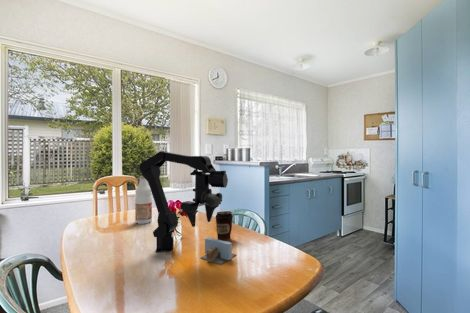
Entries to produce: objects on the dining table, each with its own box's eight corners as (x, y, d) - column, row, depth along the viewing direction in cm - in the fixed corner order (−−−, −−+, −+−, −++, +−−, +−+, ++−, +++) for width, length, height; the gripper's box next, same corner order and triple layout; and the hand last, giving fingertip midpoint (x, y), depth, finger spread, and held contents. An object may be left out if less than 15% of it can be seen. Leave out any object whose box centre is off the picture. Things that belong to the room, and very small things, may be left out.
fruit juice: (132, 222, 149) (132, 176, 149) (147, 219, 156) (147, 175, 156) (139, 225, 142) (139, 177, 142) (154, 222, 149) (154, 176, 149)
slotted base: (219, 265, 89) (219, 253, 89) (198, 259, 95) (198, 247, 95) (237, 254, 99) (237, 243, 99) (218, 249, 105) (218, 239, 105)
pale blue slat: (231, 258, 95) (231, 242, 95) (228, 260, 93) (228, 244, 93) (208, 251, 101) (208, 237, 101) (204, 253, 100) (204, 238, 100)
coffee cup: (230, 243, 112) (230, 214, 112) (213, 242, 114) (213, 214, 114) (234, 237, 121) (234, 210, 121) (218, 236, 123) (218, 210, 123)
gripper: (200, 190, 89) (200, 233, 89) (231, 185, 104) (230, 222, 104) (179, 187, 95) (179, 228, 95) (211, 183, 110) (210, 218, 111)
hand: (201, 224), depth 101 cm, fingers open, 9 cm apart
